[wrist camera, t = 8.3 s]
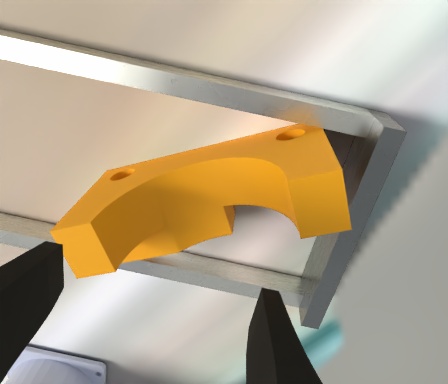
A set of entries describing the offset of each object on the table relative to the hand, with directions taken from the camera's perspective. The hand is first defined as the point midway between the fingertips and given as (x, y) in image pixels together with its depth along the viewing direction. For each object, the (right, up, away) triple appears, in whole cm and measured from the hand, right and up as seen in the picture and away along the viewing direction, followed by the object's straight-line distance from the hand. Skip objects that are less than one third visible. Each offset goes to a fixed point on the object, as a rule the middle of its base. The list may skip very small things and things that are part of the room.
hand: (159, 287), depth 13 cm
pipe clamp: (+2, +4, +8) cm, 9 cm away
